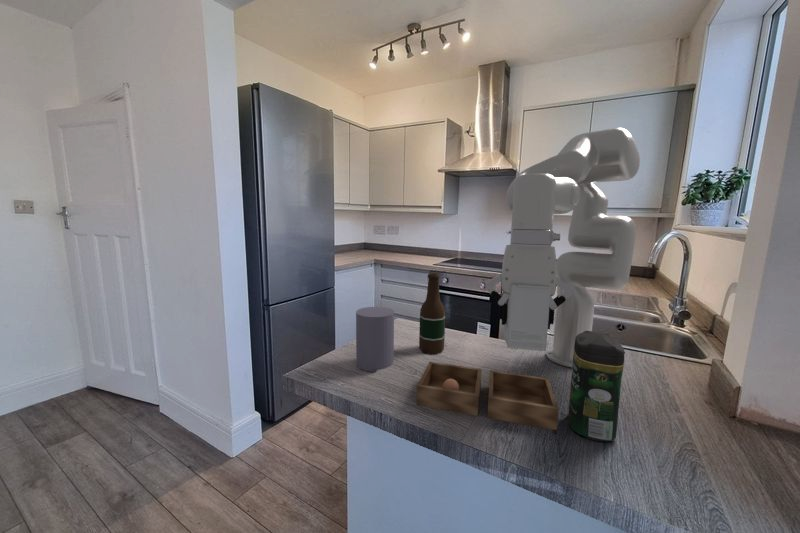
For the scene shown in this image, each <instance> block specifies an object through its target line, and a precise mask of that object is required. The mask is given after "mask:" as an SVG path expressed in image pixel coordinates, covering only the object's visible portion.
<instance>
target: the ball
mask: <svg viewBox="0 0 800 533" xmlns="http://www.w3.org/2000/svg"><path fill="white" fill-rule="evenodd" d="M443 388H444V389H450V390H456V391H459V385H458V383H457V381H456V380H454V379H447V380H446V381H445V382H444V383H443Z"/></svg>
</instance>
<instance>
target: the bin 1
mask: <svg viewBox="0 0 800 533" xmlns="http://www.w3.org/2000/svg"><path fill="white" fill-rule="evenodd" d="M482 372H483V371H482V368H475V367H470V366H464V365H463V366H462V365H455V364H448V363H440V362H433V361H429V362H428V363H427V366H426V368H425V369H424V371H423V373H422V375H421V378H420V380H419V381H418V383H417V385H416V405H417V406H421V407H425V408H430V409H431V408H433V409H438V410H443V411H449V412H453V413H460V414H464V415H465V414H466V415H470V416H475V417H477V416H479V406H480V405H479V404H480V397H481V396H480V395H481V386H482ZM447 379H454V380H456V381H457V383H458V385H459V391H456V390H450V389H444V388H443V383H444V382H445V381H446V380H447Z"/></svg>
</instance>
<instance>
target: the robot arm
mask: <svg viewBox="0 0 800 533" xmlns="http://www.w3.org/2000/svg"><path fill="white" fill-rule="evenodd" d="M640 164H641V158H640V153H639V150H638V147H637V144H636V141H635V139H634V137H633V135H632V134H631V133H630V131H629V130H628V129H625V128H623V127H614V128H610V129H609V128H608V129H602V130H597V131H590V132H585V133H584V132H583V133H580V134H578V135H575V136H574V137H572V138H570V139H569V141H568V142H566V144H565V145H564V146H563V148H562V149H561V150H560V151H559V152H558V153H557V154H556V155H554V156H552V157H548V158H547V159H545V160H542V161H541V162H538V163H535V164H533V165H531V166H529V167H527V168H525V169H523V170H522V171H521V172H520V173H519V174H518V175H517V176H516V177H515V178H514V179H513V180H512V181H511V183H510V185H509V186H508V188H507V191H506V196H505V202H506V206H507V208H508V210H509V211H511V226H510V227H511V228H510V240H509V241H510V242H509V244H506V246H505V248H504V254H503V259H502V266H501V268H502V269H501V273H500V274H497V276H495V277H493V278H491V279H490V280H488V281H486V282H485V284H484V287H485V289H486V290H487V291H488V293H489V294H490V296H491V297H492V298H493V299H494V301H496V303H497V304H498V317H497V318H498V320H501V326H502V325H503V326H504V324H506V308H507V306H506V301H507V299H508V298H509V293H510V286H511V285H530V286H545V287H550V288H551V293H550V305H549V319H548V330H550V329H551V325H554V329H553V339H552V340H553V343H552V348H549V349H546V357H547V359H548V360H550V361H552V362H553V363H556V364H557V365H561V366H564V367H567V368H572V364H573V354H574V345H575V338H576V336H577V335H578V334H580V333H582V332H584V331H593V325H594V322H593V321H594V315H595V314H594V313H595V301H594V298H593V296H592V295H591V292H589V290H588V289H587V288H592V289H601V290H609V291H621V290H623V289H625V288H626V286H627V284H628V282H629V279H630V274H631V268H632V267H631V266H632V261H633V255H634V249H635V242H636V236H637V232H636V231H637V228H636V223H635V221H634V219H632V218H631V217H629V216H626V215H607V212H608V208H609V207H608V206H609V198H608V197H607V196H606V194H605V193H604V192H603V191H602V190H601V189H600V188H599V187H598V186H596V184H595V183H608V182H621V181H628V180H631V179H633V178H634V177H635V176H636V175H637V174H638V171H639V170H640ZM571 211H572V213H571V220H570V224H569V228H568V236H567V238H568V239H567V241H568V244H569V245H570V246H571V247H573V248H577V249H581V250H582V249H583V250H596V251H597V250H598V251H610V252H611V254H610V253H600V252H598V253H596V252H589V251H568V252H565V253H562V254H560V255H559V257H558V258H557V255H556V247H555V246H552V245H553V243H554V242H556V241H560V240H561V233H556V232H554V230H553V229H554V228H553V225H554V215H563V214H564V215H565V214H567V213H570V212H571ZM499 283H500V287H501V291H502V293H501V294H499V293H500V292H498V291H497V290H496V289H495V287H494V286H496V285H498V284H499ZM555 294H556V297H555V298H553V296H555Z"/></svg>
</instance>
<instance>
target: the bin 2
mask: <svg viewBox="0 0 800 533" xmlns="http://www.w3.org/2000/svg"><path fill="white" fill-rule="evenodd" d="M488 380H489V384H488V401H487V402H488V403H487V404H488V405H487V419H492V420H498V421H502V422H503V421H504V422H509V423H514V424H520V425H525V426H530V427H537V428H541V429H546V430H551V431H552V434H555V435H557V432H558V431H557V430H558V420H559V406H558V403H557V400H556V398H555V394H554V391H553V388H552V385H551V382H550V379H549V378H548V377H541V376H536V375H535V376H534V375H525V374H521V373H520V374H519V373H513V372H505V371H497V370H491V369H490V370H489V379H488Z"/></svg>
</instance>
